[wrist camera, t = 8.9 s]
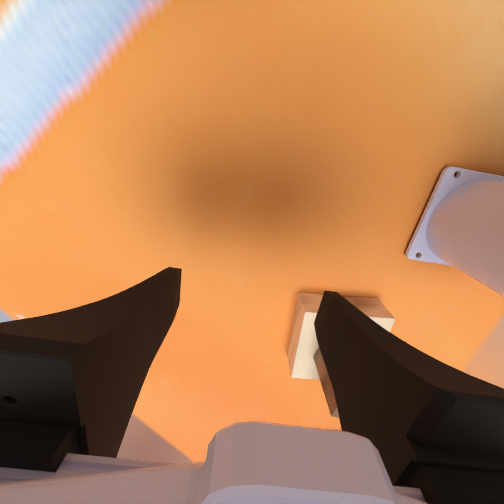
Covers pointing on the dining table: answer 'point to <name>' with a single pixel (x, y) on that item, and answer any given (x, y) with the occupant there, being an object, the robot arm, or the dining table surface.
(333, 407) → the walnut block
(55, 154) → the dining table surface
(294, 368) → the birch block
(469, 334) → the dining table surface
